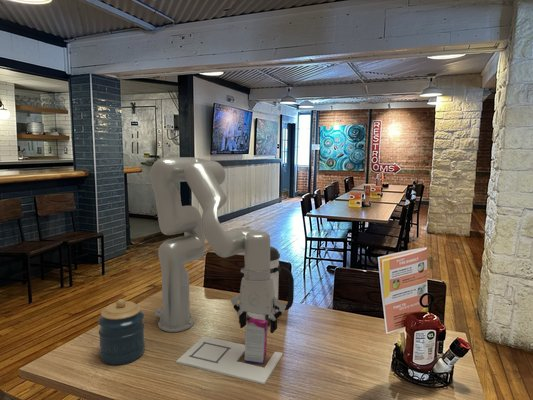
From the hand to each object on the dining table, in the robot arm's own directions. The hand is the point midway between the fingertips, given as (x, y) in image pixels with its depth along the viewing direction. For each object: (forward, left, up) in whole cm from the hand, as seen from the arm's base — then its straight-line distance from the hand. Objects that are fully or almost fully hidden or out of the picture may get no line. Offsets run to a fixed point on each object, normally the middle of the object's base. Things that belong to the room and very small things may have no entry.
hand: (257, 328), depth 112 cm
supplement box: (-1, 0, -10) cm, 10 cm away
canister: (-40, -13, -10) cm, 43 cm away
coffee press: (-8, +27, -10) cm, 30 cm away
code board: (-8, -3, -10) cm, 13 cm away
